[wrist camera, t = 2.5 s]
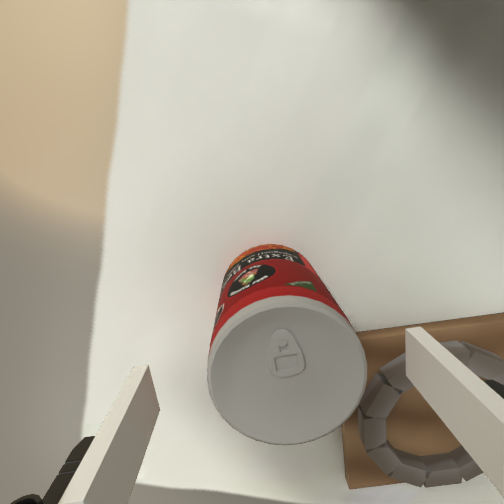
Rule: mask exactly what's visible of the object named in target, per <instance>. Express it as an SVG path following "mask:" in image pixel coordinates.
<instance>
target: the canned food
mask: <svg viewBox="0 0 504 504" xmlns="http://www.w3.org/2000/svg"><path fill="white" fill-rule="evenodd" d="M207 372H208V375H207V381H208V387H209V393H210V395H211V398H212V400H213V403H214V406H215V407H216V409H217V410H218V412H219V413H220V415H221V416H222V417H223V418H224V419H225V420H226V421H227V422H228V423H229V424H230V425H231V426H232V427H233V428H234V429H236V430H237V431H239V432H240V433H242V434H243V435H245V436H247V437H250V438H252V439H254V440H256V441H260V442H264V443H268V444H275V445H294V444H302V443H306V442H310V441H314V440H316V439H318V438H321V437H323V436H325V435H327V434H329V433H330V432H332V431H334V430H335V429H337V428H338V427H340V426H341V425H342V424H343V423H344V422H345V421H346V420H347V419H348V418H349V417H350V416H351V414H352V413H353V412H354V410H355V409H356V408H357V406H358V405H359V402H360V400H361V398H362V396H363V394H364V390H365V386H366V381H367V362H366V357H365V352H364V349H363V347H362V345H361V342H360V340H359V338H358V336H357V334H356V332H355V330H354V328H353V327H352V325H351V324H350V322H349V320H348V319H347V317H346V316H345V314H344V313H343V311H342V310H341V308H340V307H339V305H338V304H337V303H336V301H335V300H334V298H333V297H332V295H331V294H330V292H329V291H328V289H327V288H326V286H325V285H324V283H323V282H322V280H321V279H320V278H319V276H318V275H317V273H316V272H315V270H314V269H313V267H312V266H311V265H310V263H309V262H308V261H307V259H305V258H304V257H303V256H302V255H301V254H300V253H298V252H296V251H295V250H293V249H291V248H288V247H285V246H282V245H275V244H267V245H260V246H257V247H253V248H251V249H249V250H247V251H245V252H243V253H242V254H241V255H239V256H238V257H237V258H236V259H235V260H234V261H233V263H232V264H231V265H230V266H229V268H228V270H227V272H226V274H225V277H224V280H223V284H222V289H221V294H220V299H219V304H218V308H217V313H216V318H215V323H214V328H213V333H212V338H211V343H210V350H209V356H208V368H207Z"/></svg>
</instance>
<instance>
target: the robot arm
mask: <svg viewBox="0 0 504 504" xmlns="http://www.w3.org/2000/svg"><path fill="white" fill-rule="evenodd" d="M405 341H406V376H407V377H408V379H409V380H410V381H411V382H412V384H413V385H414V386H415V387H416V389H417V390H418V391H419V392H420V394H421V395H422V396H423V397H424V399H425V400H426V401H427V402H428V404H429V405H430V406H431V407H432V408H433V410H434V411H435V412H436V413H437V415H438V416H439V417H440V418H441V420H442V421H443V422H444V423H445V425H446V426H447V427H448V428H449V430H450V431H451V432H452V433H453V435H454V436H455V437H456V438H457V440H458V441H459V442H460V443H461V445H462V446H463V447H464V448H465V450H466V451H467V452H468V453H469V455H470V456H471V457H472V458H473V460H474V461H475V462H476V463H477V465H478V466H479V467H480V468H481V470H482V471H483V472H484V473H485V475H486V476H487V477H488V478H489V480H490V481H491V482H492V483H493V485H494V486H495V487H496V488H497V490H498V491H499V492H500V493H501V495H502V496H503V497H504V385H503V384H501V383H499V382H497V381H495V380H493V379H492V380H485V381H482V380H481V379H480V378H479V377H478V376H477V375H475V374H474V373H473V372H472V371H471V370H470V369H469V368H467V367H466V366H465V365H464V364H463V363H462V362H460V361H459V360H458V359H457V358H456V357H455V356H454V355H452V354H451V353H450V352H449V351H448V350H447V349H446V348H444V347H443V346H442V345H441V344H440V343H439V342H438V341H436V340H435V339H434V338H433V337H432V336H431V335H430V334H428V333H427V332H426V331H425V330H424V329H423V328H422V327H413V328H406V329H405ZM159 411H160V407H159V404H158V400H157V396H156V392H155V388H154V384H153V381H152V377H151V373H150V369H149V365H144V366H137V367H133V369H132V371H131V372H130V374H129V376H128V378H127V380H126V381H125V383H124V385H123V387H122V389H121V390H120V392H119V394H118V396H117V398H116V400H115V401H114V403H113V405H112V407H111V409H110V410H109V412H108V414H107V416H106V418H105V420H104V421H103V423H102V425H101V427H100V429H99V430H98V432H97V434H96V436H91V437H85V438H84V439H83V440H82V441H81V442H80V443H79V444H78V445H77V446H76V447H75V448H74V449H73V450H72V452H71V453H70V455H69V457H68V458H67V460H66V462H65V464H64V465H63V467H62V468H61V470H60V471H59V475H57V477H56V478H55V480H54V481H53V483H52V485H51V486H50V488H49V490H48V491H47V493H46V495H45V496H44V498H43V499H41V498H40V496H39V495H35V494H31V495H26V496H23V497H21V498H19V499H17V500H15V501H13V502H12V503H11V504H128V502H129V499H130V496H131V493H132V490H133V487H134V485H135V482H136V479H137V476H138V473H139V470H140V467H141V464H142V461H143V458H144V455H145V452H146V449H147V446H148V444H149V441H150V438H151V435H152V432H153V429H154V426H155V423H156V420H157V417H158V414H159Z"/></svg>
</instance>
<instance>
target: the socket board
mask: <svg viewBox="0 0 504 504" xmlns="http://www.w3.org/2000/svg"><path fill="white" fill-rule="evenodd" d="M413 327H422V328H423V329H424V330H425V331H426V332H427V333H428V334H430V335H431V336H432V337H433V338H434V339H435V340H436V341H438V342H439V343H440V344H441V345H442V346H443V347H444V348H446V349H447V350H448V351H449V352H450V353H451V354H452V355H454V356H455V357H456V358H457V359H458V360H459V361H460V362H462V363H463V364H464V365H465V366H466V367H467V368H469V369H470V370H471V371H472V372H473V373H474V374H475V375H477V376H478V377H479V378H480V379H481V380H482V381H485V380H492V379H493V380H495V381H497V382H499V383H501V384H503V385H504V313H497V314H490V315H483V316H475V317H468V318H460V319H453V320H445V321H438V322H430V323H423V324H415V325H408V326H400V327H393V328H385V329H378V330H371V331H363V332H356V334H357V336H358V338H359V340H360V342H361V345H362V347H363V349H364V352H365V357H366V362H367V381H366V386H365V390H364V394H363V396H362V398H361V400H360V402H359V405H358V406H357V408H356V409H355V410H354V412H353V413H352V414H351V416H350V417H349V418H348V419H347V420H346V421H345V422H344V423H343V424H342V437H343V451H344V464H345V477H346V481H347V484H348V487H349V489H357V488H365V487H373V486H381V485H389V484H397V483H405V482H406V483H409V484H412V485H415V486H419V487H421V486H422V485H423V484H424V486H425V487H434V486H442V485H450V484H458V483H461V482H462V477H463V478H464V479H465V481H468V480H470V479H472V478H474V477H475V476H477V475H479V474H481V473H484V472H483V471H482V470H481V468H480V467H479V466H478V465H477V463H476V462H475V461H474V460H473V458H472V457H471V456H470V455H469V453H468V452H467V451H466V450H465V448H464V447H463V446H462V445H461V443H460V442H459V441H458V440H457V438H456V437H455V436H454V435H453V433H452V432H451V431H450V430H449V428H448V427H447V426H446V425H445V423H444V422H443V421H442V420H441V418H440V417H439V416H438V415H437V413H436V412H435V411H434V410H433V408H432V407H431V406H430V405H429V404H428V402H427V401H426V400H425V399H424V397H423V396H422V395H421V394H420V392H419V391H418V390H417V389H416V387H415V386H414V385H413V384H412V382H411V381H410V380H409V379H408V377H407V376H406V341H405V329H406V328H413Z"/></svg>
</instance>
